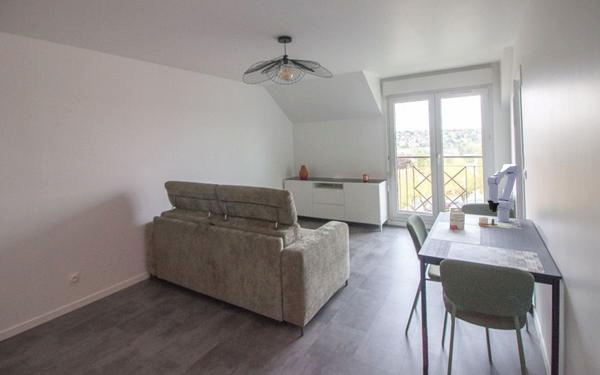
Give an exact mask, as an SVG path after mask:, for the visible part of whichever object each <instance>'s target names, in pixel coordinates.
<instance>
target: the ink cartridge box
mask: <svg viewBox="0 0 600 375" xmlns="http://www.w3.org/2000/svg"><path fill="white" fill-rule="evenodd" d="M465 214H466V213H465V212H463V207H450V212H449V228H450V229H451V230H465V219H466V218H465V216H466V215H465Z"/></svg>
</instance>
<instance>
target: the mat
mask: <svg viewBox="0 0 600 375" xmlns="http://www.w3.org/2000/svg"><path fill="white" fill-rule="evenodd" d="M495 223H496V224H497V225H498V226H499V227H513V225H512V224H511V223H508V222H507V223H506V222H504V223H503V222H495Z"/></svg>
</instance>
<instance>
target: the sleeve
mask: <svg viewBox="0 0 600 375" xmlns="http://www.w3.org/2000/svg"><path fill="white" fill-rule="evenodd" d="M478 219H479V220H478V223H479V224H481V225H488V223H489V217H487V216H479V218H478Z"/></svg>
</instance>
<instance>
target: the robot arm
mask: <svg viewBox="0 0 600 375" xmlns="http://www.w3.org/2000/svg"><path fill="white" fill-rule="evenodd" d="M520 172H521V166H520V164H518V163H517V164H516V163H515V164H512V163H504V164H503V165H502V169H501V170H500V171H499V170H497V171H496V172H495V173H494V174H493V175H491V176H489V177H488V178H487V186H488V198H486V201H487V203H488V207H489V211H492V212H493V213H496V212H497V218H495V220H497V222H504V223H506V222H507V223H508V222H512V221H511V220H510V210H511V209H512V208H513V205H514V204H513V203H514V201H513V199H512V198H511V196H512V192H513V188H514V185H515V181H516V179H517V177H518V176H519V175H520ZM505 176H506V177H507V180H506V181H505V186H504V189H503V192H502V196H500V197H499V184H500V183H501V181H502V179H503V178H504V177H505Z"/></svg>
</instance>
